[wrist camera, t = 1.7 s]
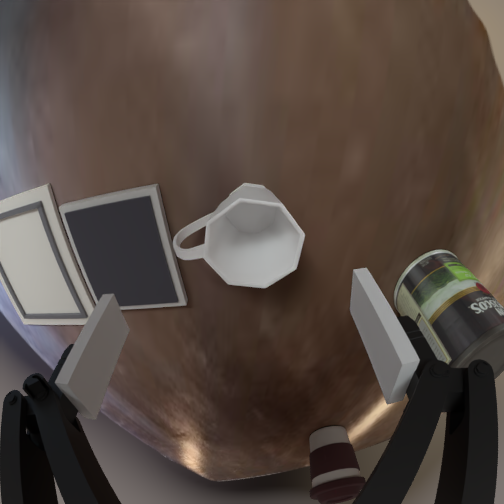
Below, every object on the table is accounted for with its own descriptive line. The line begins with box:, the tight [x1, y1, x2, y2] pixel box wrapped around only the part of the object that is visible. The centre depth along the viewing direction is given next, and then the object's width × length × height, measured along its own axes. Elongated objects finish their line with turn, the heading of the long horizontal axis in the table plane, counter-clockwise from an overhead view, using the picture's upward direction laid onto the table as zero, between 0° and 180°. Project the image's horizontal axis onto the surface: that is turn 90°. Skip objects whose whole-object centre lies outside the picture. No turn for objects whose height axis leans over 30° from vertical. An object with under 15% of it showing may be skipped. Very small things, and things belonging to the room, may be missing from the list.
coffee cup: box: [309, 426, 366, 504], centre depth 42 cm, size 10×10×15 cm
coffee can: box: [394, 250, 504, 379], centre depth 26 cm, size 10×10×14 cm
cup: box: [173, 183, 305, 288], centre depth 24 cm, size 7×10×8 cm
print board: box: [0, 184, 96, 325], centre depth 29 cm, size 18×15×1 cm
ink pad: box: [59, 184, 188, 310], centre depth 29 cm, size 13×11×1 cm
